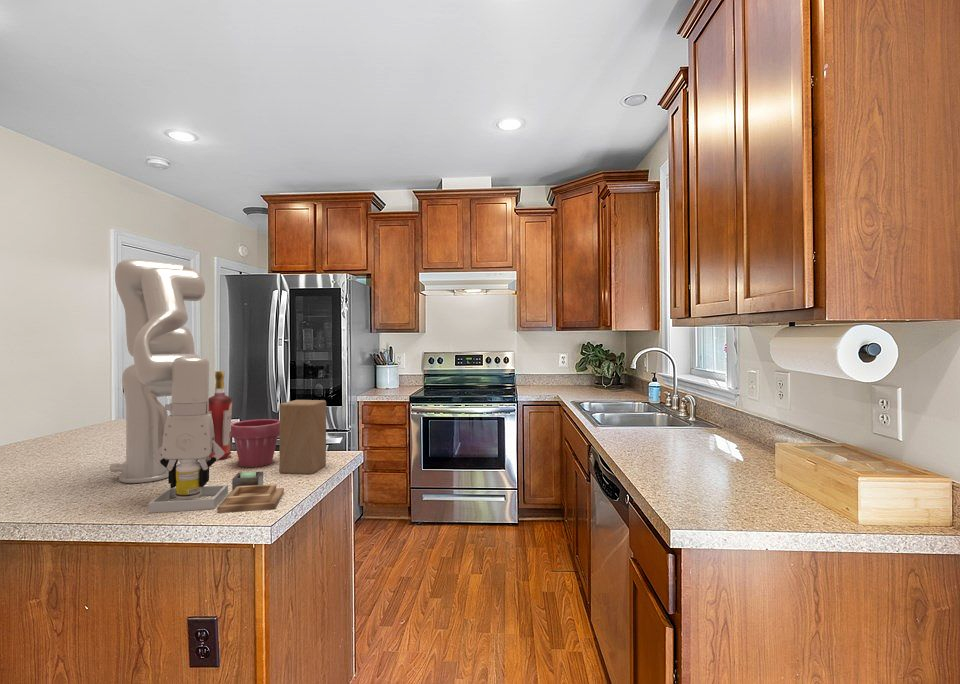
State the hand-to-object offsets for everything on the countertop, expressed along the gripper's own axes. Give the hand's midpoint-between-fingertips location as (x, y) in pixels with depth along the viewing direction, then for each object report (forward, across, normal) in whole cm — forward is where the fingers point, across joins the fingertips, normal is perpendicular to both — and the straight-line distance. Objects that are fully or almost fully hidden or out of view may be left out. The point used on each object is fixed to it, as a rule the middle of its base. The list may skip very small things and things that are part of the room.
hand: (188, 485), depth 116 cm
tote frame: (+4, +1, -1) cm, 4 cm away
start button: (+2, +12, +6) cm, 13 cm away
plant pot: (+5, +8, +35) cm, 36 cm away
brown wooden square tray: (+4, +15, -3) cm, 16 cm away
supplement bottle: (+3, 0, 0) cm, 3 cm away
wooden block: (+4, +23, +25) cm, 34 cm away
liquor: (+6, -5, +45) cm, 46 cm away
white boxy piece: (+4, +12, +6) cm, 14 cm away
